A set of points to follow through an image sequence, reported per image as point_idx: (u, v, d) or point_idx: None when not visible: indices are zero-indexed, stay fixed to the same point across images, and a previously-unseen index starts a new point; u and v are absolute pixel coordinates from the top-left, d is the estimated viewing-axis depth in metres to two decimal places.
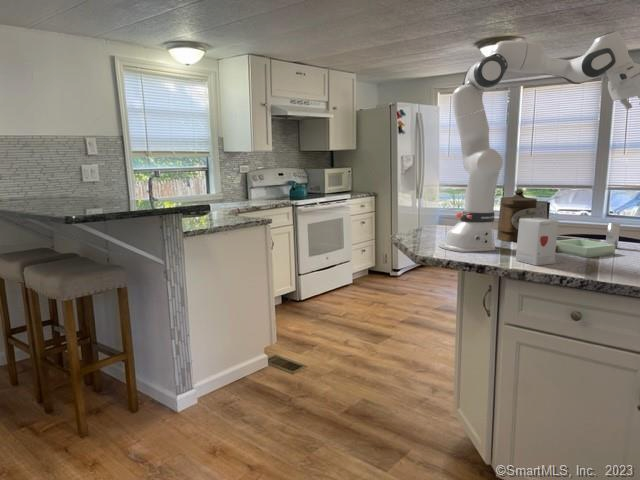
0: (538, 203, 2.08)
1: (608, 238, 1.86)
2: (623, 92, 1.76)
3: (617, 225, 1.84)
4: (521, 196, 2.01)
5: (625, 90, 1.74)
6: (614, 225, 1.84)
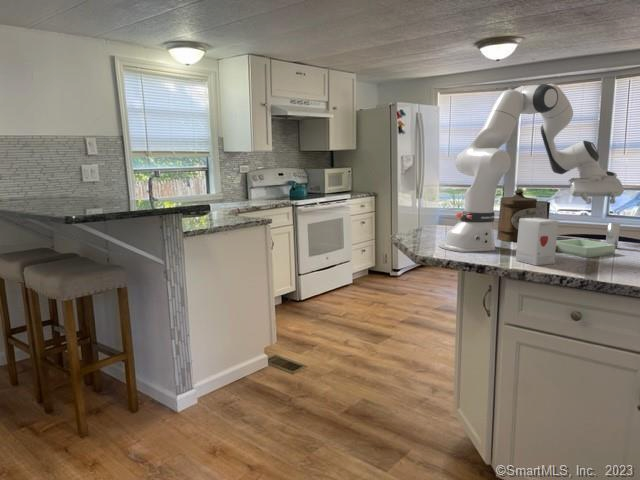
0: (538, 203, 2.08)
1: (608, 238, 1.86)
2: (596, 187, 1.99)
3: (617, 225, 1.84)
4: (521, 196, 2.01)
5: (600, 185, 1.99)
6: (614, 225, 1.84)
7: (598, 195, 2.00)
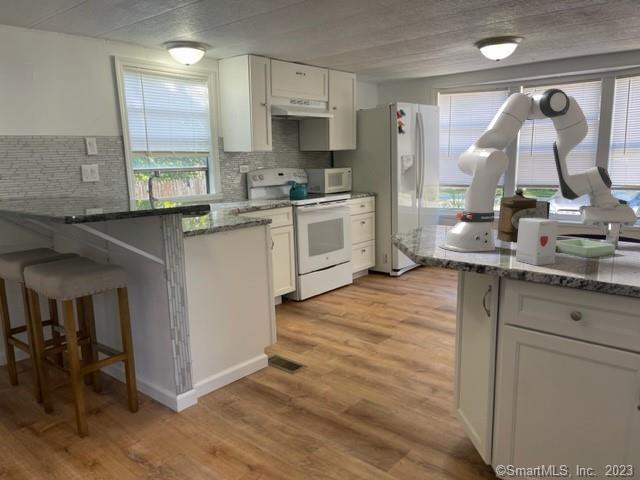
0: (538, 203, 2.08)
1: (608, 238, 1.86)
2: (608, 216, 1.89)
3: (617, 225, 1.84)
4: (521, 196, 2.01)
5: (612, 214, 1.89)
6: (614, 225, 1.84)
7: None
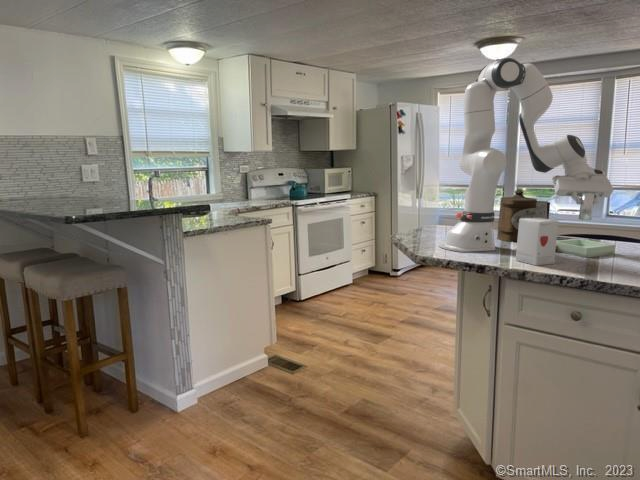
0: (538, 203, 2.08)
1: (582, 209, 1.76)
2: (582, 186, 1.78)
3: (591, 195, 1.73)
4: (521, 196, 2.01)
5: (587, 184, 1.78)
6: (588, 195, 1.74)
7: None
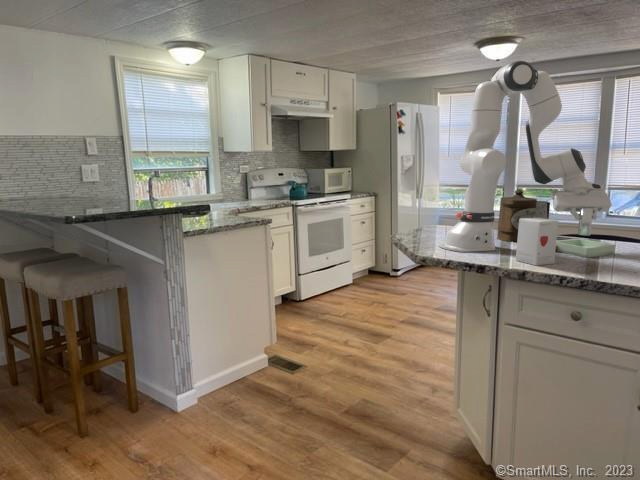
0: (538, 203, 2.08)
1: (581, 224, 1.76)
2: (581, 201, 1.79)
3: (590, 210, 1.74)
4: (521, 196, 2.01)
5: (585, 199, 1.79)
6: (586, 210, 1.74)
7: None
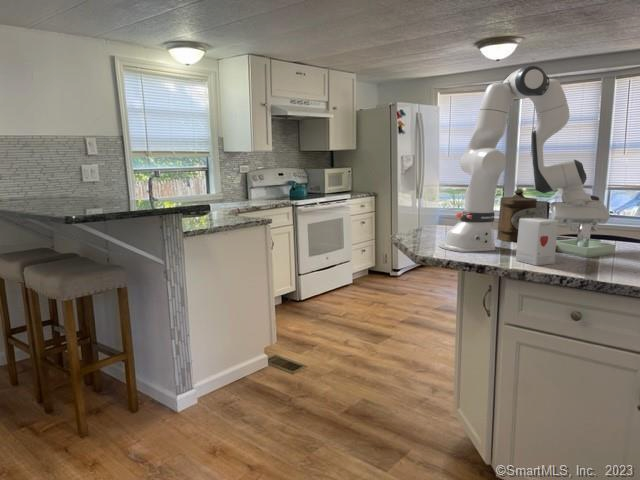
0: (538, 203, 2.08)
1: (579, 239, 1.77)
2: (579, 212, 1.79)
3: (588, 225, 1.75)
4: (521, 196, 2.01)
5: (584, 211, 1.80)
6: (585, 225, 1.75)
7: (581, 222, 1.81)
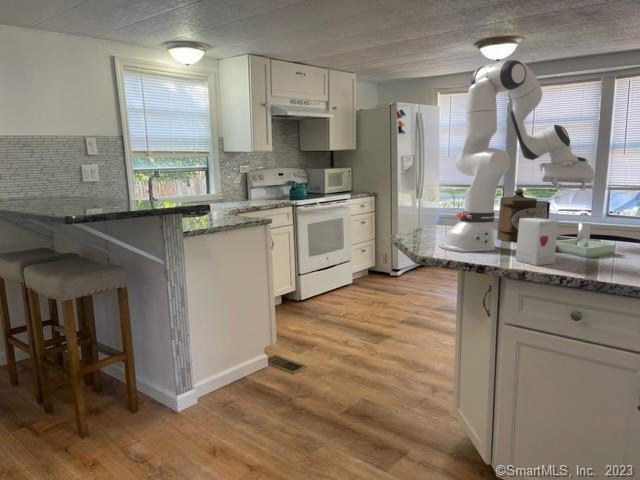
0: (538, 203, 2.08)
1: (578, 239, 1.77)
2: (567, 172, 1.92)
3: (587, 226, 1.75)
4: (521, 196, 2.01)
5: (571, 171, 1.93)
6: (584, 226, 1.75)
7: (569, 181, 1.94)
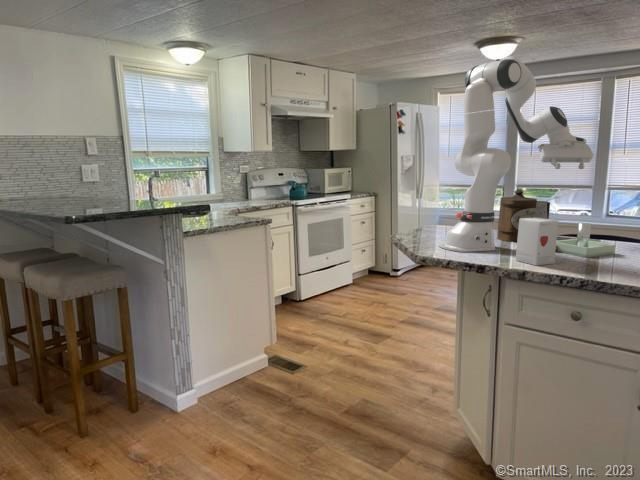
0: (538, 203, 2.08)
1: (578, 239, 1.77)
2: (565, 152, 1.95)
3: (588, 226, 1.75)
4: (521, 196, 2.01)
5: (569, 151, 1.95)
6: (585, 226, 1.75)
7: (567, 161, 1.96)
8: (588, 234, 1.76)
